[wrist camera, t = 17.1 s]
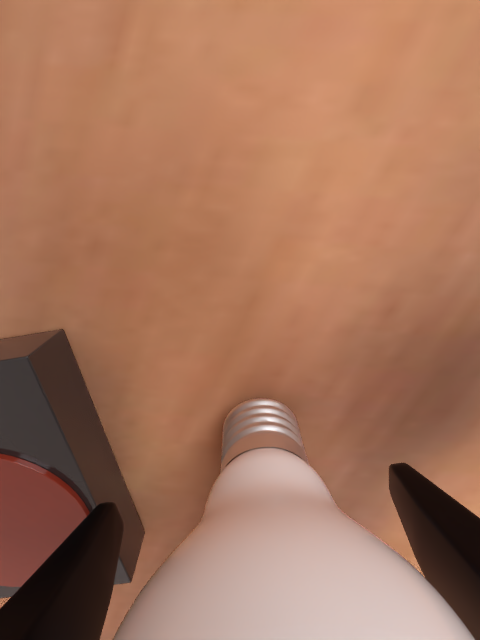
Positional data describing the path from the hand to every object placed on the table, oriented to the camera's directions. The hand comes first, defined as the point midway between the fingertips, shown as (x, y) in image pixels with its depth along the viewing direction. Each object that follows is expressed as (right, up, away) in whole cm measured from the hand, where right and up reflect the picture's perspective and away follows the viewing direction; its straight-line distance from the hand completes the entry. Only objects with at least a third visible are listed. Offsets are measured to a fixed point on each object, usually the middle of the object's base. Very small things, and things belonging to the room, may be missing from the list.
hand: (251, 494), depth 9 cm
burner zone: (-9, -2, +2) cm, 9 cm away
